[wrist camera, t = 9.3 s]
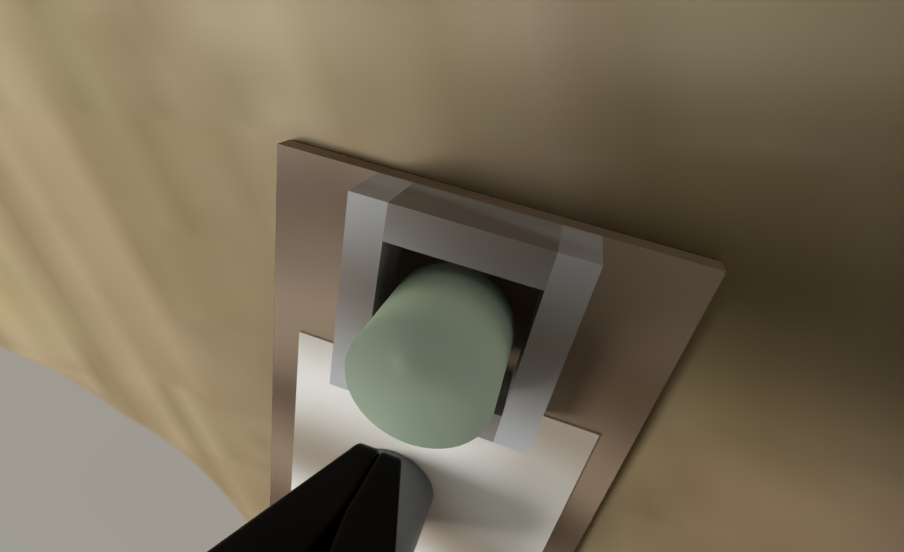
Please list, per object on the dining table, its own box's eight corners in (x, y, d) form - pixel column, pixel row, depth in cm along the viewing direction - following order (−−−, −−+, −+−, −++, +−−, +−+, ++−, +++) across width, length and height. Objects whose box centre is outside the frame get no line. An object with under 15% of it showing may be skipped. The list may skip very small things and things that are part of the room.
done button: (497, 390, 13) (475, 468, 11) (384, 351, 14) (338, 418, 11) (531, 286, 12) (514, 350, 9) (401, 246, 12) (352, 298, 10)
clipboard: (514, 648, 22) (506, 713, 19) (276, 548, 23) (244, 598, 21) (721, 261, 12) (746, 308, 10) (289, 139, 14) (234, 157, 12)
